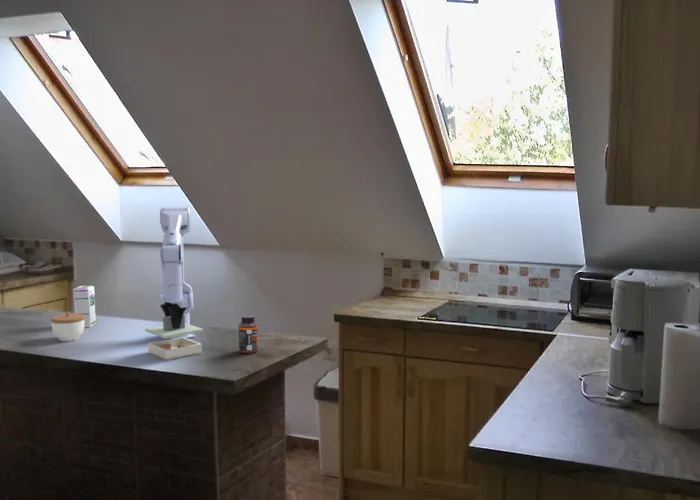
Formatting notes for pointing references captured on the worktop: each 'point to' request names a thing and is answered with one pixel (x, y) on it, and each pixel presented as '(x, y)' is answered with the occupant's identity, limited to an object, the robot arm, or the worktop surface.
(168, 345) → the storage box
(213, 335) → the worktop surface
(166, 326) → the lid
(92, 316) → the syrup box
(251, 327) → the supplement bottle
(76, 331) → the lidded jar
